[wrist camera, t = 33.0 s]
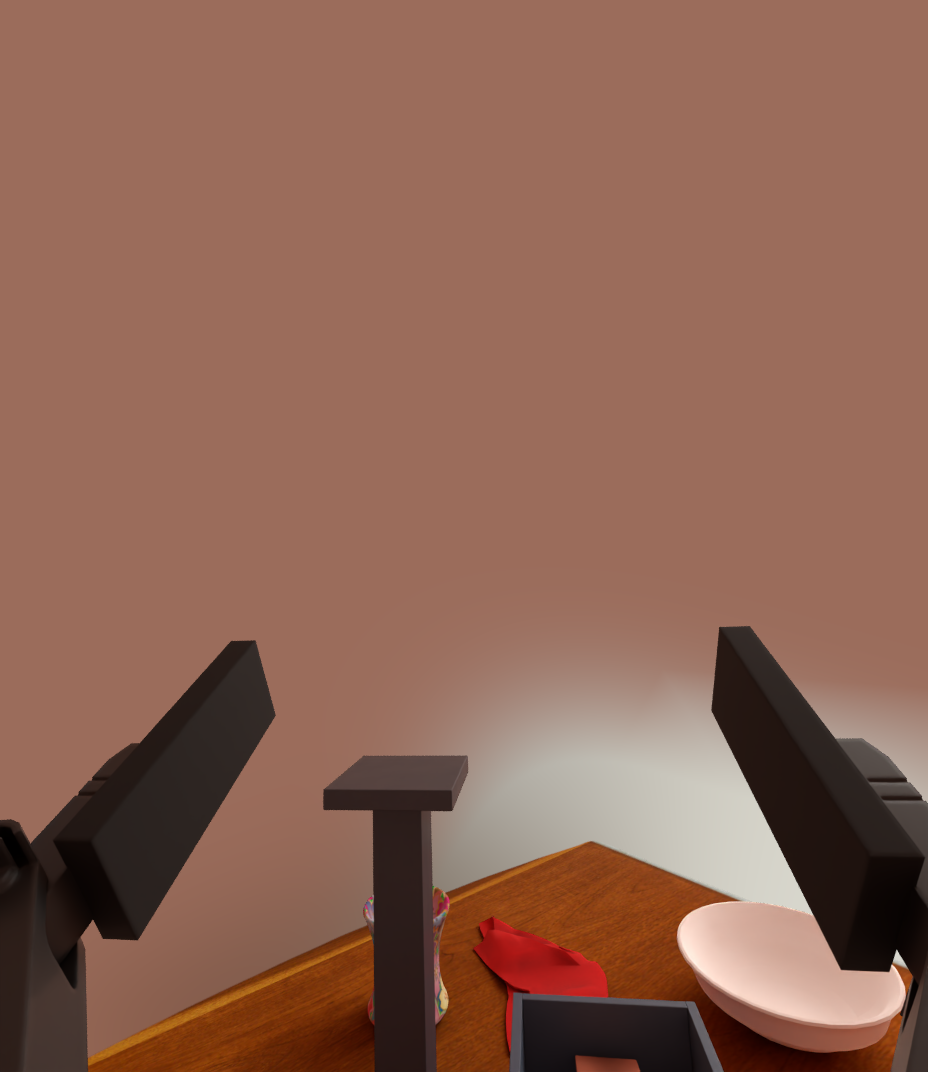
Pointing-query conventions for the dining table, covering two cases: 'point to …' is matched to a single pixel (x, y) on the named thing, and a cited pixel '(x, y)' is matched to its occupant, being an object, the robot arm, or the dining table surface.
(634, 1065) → the mallet
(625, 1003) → the bin
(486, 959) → the cloth
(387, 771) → the stand
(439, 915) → the mug
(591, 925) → the dining table surface
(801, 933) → the bowl
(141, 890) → the robot arm
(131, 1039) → the dining table surface
